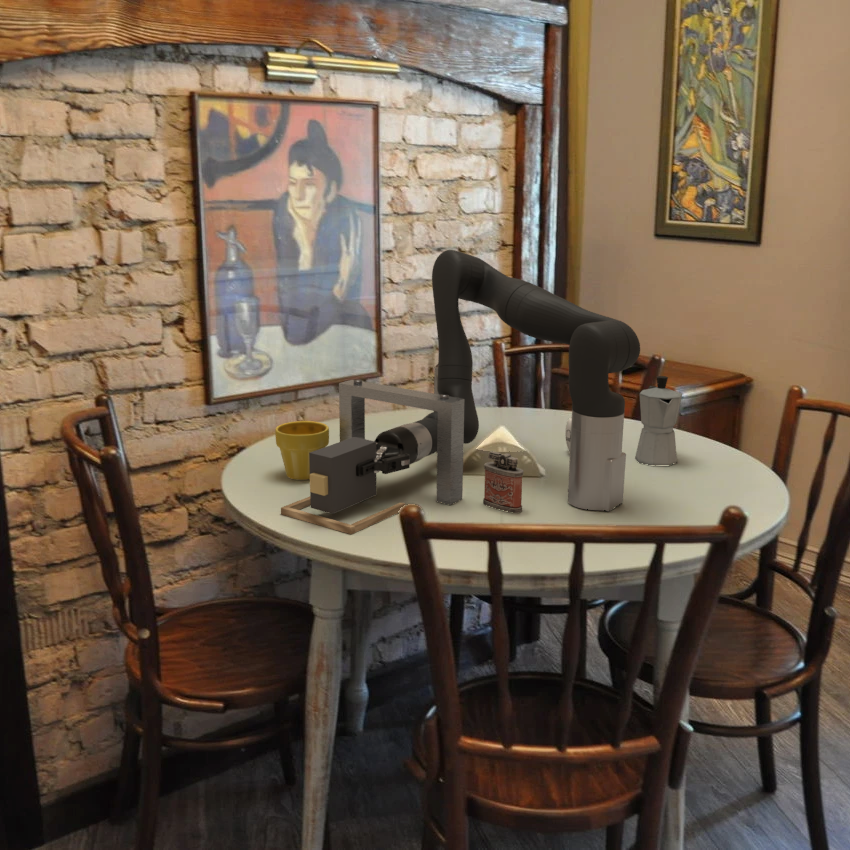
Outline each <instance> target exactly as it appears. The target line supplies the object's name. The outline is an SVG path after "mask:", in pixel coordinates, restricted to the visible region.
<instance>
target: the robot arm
mask: <svg viewBox="0 0 850 850" xmlns="http://www.w3.org/2000/svg"><path fill="white" fill-rule="evenodd" d="M431 286H432V288H431V289H432V295H433V297H432V298H433V302H434V303H433V304H434V305H433V306H434V315H435V322H436V330H437V331H436V332H437V340H438V341H437V342H438V361H437V364H438V381H437V390H438V394H439V395H441V394H447V395H449V396H450V397H456V398H462V399H464V444H463V445H466V444H469V443H472V442H474V440H475V439H476V437H477V435H478V432H479V429H480V423H479V416H478V412H477V408H476V405H475V404H476V403H475V399H474V395H473V389H472V388H473V387H472V386H473V368H474V367H473V365H474V362H473V361H474V360H473V353H472V349H471V346H470V343H469V340H468V337H467V335H466V331H465V329H464V326H463V323H462V318H461V315H460V307H459V305H460V304H459V303H460V302H459V300H463V301H465V302H466V301H467V302H471V303H476V304H477V305H478V304H479V305H482V306H484V307H487V308H489V309H492V310H493V311H494V312H495V313H496V314H497V316H498V317H499V319H500V320H501V321H502V322H503V323H505V324H506V325H507V326H508V327H511V329H514V330H515V331H518V332H520V333H522V334H524V335H526V336H528V337H531V338H534V339H538V340H541V341H547V342H553V343H558V344H564V345H568V392H569V396H570V399H571V417H572V422H571V441H570V452H569V460H568V461H569V463H568V466H569V467H568V486H567V503H568V504H570V505H571V506H573V507H575V508H579V509H583V510H587V509H588V510H587V511H604V510H606V511H605V512H610V511H612V510H613V508H614V507H615V508H617V507H618V506H620V505H621V504H620V503H622V502H623V503H624V489H625V476H626V459H627V454H626V452H623V435H624V421H625V420H624V419H625V409H626V401H625V397H624V396H623V395H622V394H621V393H618V392H615V391H612V390H611V389H610V386H609V385H610V384H609V374H614V373H620V372H622V371H625V370H627V369H630V367H632V366H633V365H634V364H635V363H636V362H637V361H638V359H639V358H640V354H641V343H640V340H639V337H638V335H637V333H636V332H635V331H634V329H633V328H632V327H631V326H630V325H629V324H627V323H625V321H622V320H619V319H617V318H612V317H609V316H606V315H602V314H599V313H595V312H593V311H590V310H588V309H586V308H582V307H581V306H578V305H577V304H575V303H573V302H571V301H570V300H568V299H565V298H563V297H562V296H561V297H560V296H558V295H557V294H554V293H552V292H550V291H549V290H546V289H544V288H543V287H540V286H538V285H537V284H534V283H532V282H529V281H526V280H523V279H521V278H515V277H511V276H508V275H506V274H504V273H502V272H501V271H500V270H498V269H496V268H495V267H493V266H492V265H490V264H489V263H488V262H486V261H485V260H484V259H481V258H479V257H478V256H474V255H472V254H469V253H465V252H462V251H458V250H455V249H454V250H453V249H448V250H444V251H442V252H441V253H440V254H439V255H438V256H437V257H436V259H435V261H434V264H433V266H432V272H431ZM437 428H438V412H437V411H435V412H434V411H431V412H430V413H429V414H428V413H427V415H426V416H424V417H423V418H422V419H420V420H416V421H414V422H413V421H412V422H410V423H405V424H402V425H398V426H395V427H394V428H390V429H387V430H385V431H382V432H380V433H378V434H377V436H376V438H375V439H374V441H375V442H376V457H373V458H372V460H367V461H364V462H362V463H359V464H357V465H356V476H359V477H361V476H364V475H366V474H369V473H371V472H373V473H376V474H377V473H379V472H381V474H383V475H387V474H392V473H395V472H399V471H404V470H407V469H410V468H411V467H410V466H411V465H412V464H415V463H417V462H420V461H421V460H423V459H424V458H425V457H428V456H431V455H433V454H435V453H437ZM623 503H622V504H623ZM619 504H620V505H619ZM617 505H618V506H617ZM616 506H617V507H616ZM615 508H614V509H615ZM611 509H612V510H611ZM609 510H610V511H609Z"/></svg>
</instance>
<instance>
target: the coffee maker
mask: <svg viewBox="0 0 850 850" xmlns="http://www.w3.org/2000/svg"><path fill="white" fill-rule="evenodd" d="M668 378H669V377H668V376H664V375H657V376H656V385H657V386H655V385H649V386H648V388H647V389H642V390H641V391H640V392H639V405H640V421H641V424H642V425H643V427H642V428H641V430H640V435H639V439H638V442H637V443H638V444H637V448H636V452H635V456H634V459H635V460H636V462H637V461H638V462H639V463H638V462H637V463H638V464H641V463H643V464H642V465H645V464H648V465H647V466H649V465H671V464H673V463H676V462H677V463H678V457H677V456H678V455H677V445H676V444H677V443H676V433H675V431H674V427H675V425H676V423H677V420H678V416H679V411H680V407H681V403H682V397H683V393H682V392H678V391H676V390H672V389H670V388H666V387H667V383H668ZM677 463H676V464H677ZM671 466H672V465H671Z"/></svg>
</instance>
